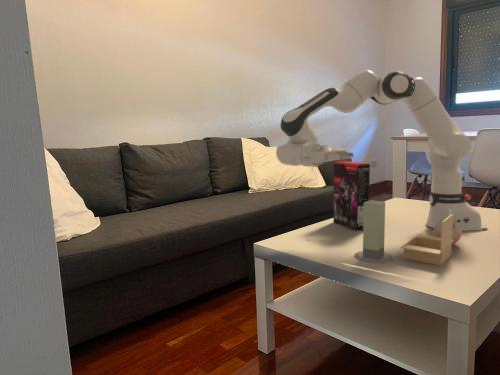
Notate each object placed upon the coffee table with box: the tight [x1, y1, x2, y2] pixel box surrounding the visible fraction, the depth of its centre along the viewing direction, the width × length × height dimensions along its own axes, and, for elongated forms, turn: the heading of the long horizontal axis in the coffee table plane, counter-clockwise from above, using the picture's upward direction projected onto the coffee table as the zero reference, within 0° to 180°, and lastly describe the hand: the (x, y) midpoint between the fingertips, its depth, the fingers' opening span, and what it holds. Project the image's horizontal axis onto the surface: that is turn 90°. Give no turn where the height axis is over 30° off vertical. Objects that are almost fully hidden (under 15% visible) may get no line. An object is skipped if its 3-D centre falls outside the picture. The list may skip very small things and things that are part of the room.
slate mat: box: [354, 250, 394, 264], centre depth 129 cm, size 12×12×1 cm
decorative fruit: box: [432, 220, 463, 245], centre depth 138 cm, size 9×8×10 cm
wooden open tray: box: [400, 214, 454, 266], centre depth 126 cm, size 11×17×14 cm, turn 139°
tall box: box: [362, 199, 386, 260], centre depth 127 cm, size 5×5×18 cm
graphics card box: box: [333, 160, 371, 231], centre depth 168 cm, size 17×7×27 cm, turn 23°
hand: (346, 156), depth 142 cm, fingers open, 8 cm apart
